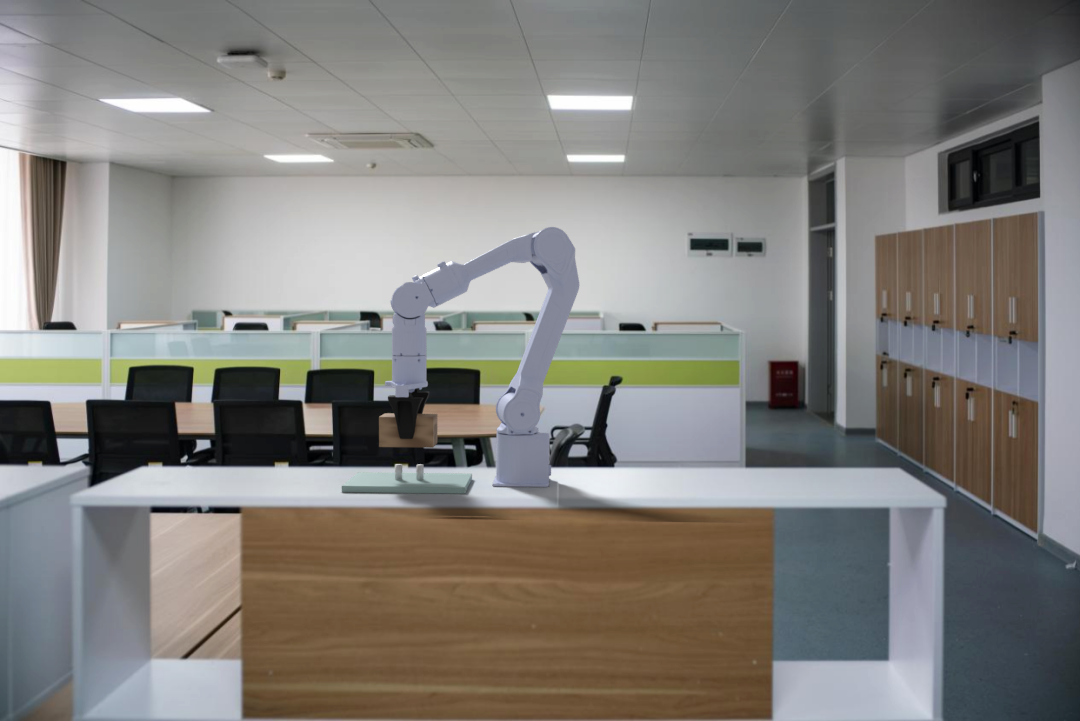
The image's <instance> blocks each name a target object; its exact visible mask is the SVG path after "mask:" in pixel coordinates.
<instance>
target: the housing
mask: <svg viewBox="0 0 1080 721" xmlns="http://www.w3.org/2000/svg"><path fill="white" fill-rule="evenodd" d="M437 444H438V413H422V414H417V418H416V426H415V432H414V436H413V439H400V437H399V433H398V428H397V423H396V418H395V415H394V412H393V413H391V412H387V413H385V412H384V413H383V414H382V415H379V417H378V448H432V449H433V448H434V447H435V446H436V445H437Z"/></svg>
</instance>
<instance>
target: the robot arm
mask: <svg viewBox="0 0 1080 721" xmlns="http://www.w3.org/2000/svg"><path fill="white" fill-rule="evenodd" d="M510 263H517V264H526V263H530V264H531V265H532V266H533V267H534V268H535V269H536V270H537V271H538V272H539V273H540V275H541V277H542V280H544V282H545V284H546V287H547V292H546V295H545V297H544V300H543V302H542V306H541V307H540V310H539V312H538V316H537V319H536V322H535V323H534V326H533V328H532V332H531V334H530V337H529V339H528V342H527V344H526V347H525V349H524V352H523V355H522V358H521V360H520V363H519V366H518V369H517V372H516V373H515V375H514V376H513V378H512V379H511V381H510V383H509V385H508V387H507V389H506V391H505V392H504V393H502V394H501V395H500V397H499V398H497V401H496V405H495V413H496V416H497V418H498V420H499V421H500V422H501V423H500V424H499V426H498V427H497V428H496V442H495V444H496V446H495V447H496V450H495V453H496V457H495V460H496V461H495V462H496V463H495V464H496V466H495V467H496V470H495V472H496V473H495V474H496V475H495V476H494V478H493V482H492V484H491V485H492V487H503V488H504V487H511V488H513V487H515V488H517V487H518V488H519V487H521V488H523V487H525V488H530V487H531V488H549V487H550V476H552V464H550V433H549V432H539V427H537V425H538V424H539V422H540V418H541V407H540V406H541V405H540V404H541V402H542V398H543V395H544V394H543V393H544V382H545V379H546V377H547V374H548V371H549V369H550V366H551V364H552V361H553V359H554V356H555V354H556V350H557V348H558V345H559V343H560V340H561V337H562V335H563V332H564V329H565V326H566V324H567V321H568V319H569V317H570V314H571V311H572V309H573V307H574V304H575V301H576V298H577V295H578V293H579V290H580V280H579V278H580V277H579V274H578V268H577V261H576V248H575V246H574V244H573V242H572V240H571V239H570V238H569V235H568V234H567V232H566V231H564V230H563V229H561V228H559V227H556V226H548V227H545V228H543V229H541V230H538V231H536V232H535V231H534V232H531V233H528V234H524V235H520V236H518V237H514V238H512V239H510V240H508V241H505V242H503V243H501V244H500V245H498V246H496V247H494V248H492V249H490V250H488V251H486V252H485V253H482V254H481V255H478V256H477V257H475V258H473V259H470V260H469V261H467V262H465V263H463V264H461V263H459V262H456V261H452V260H451V261H449V262H446V261H444V260H443V261H441V262H439V263H437V265H436V266H437V267H436V268H435V269H432V270H430V271H428V272H426V273H424V274H423V275H420V276H418V274H417V275H416V274H415V275H414V276H412V277H411V279H412V282H411V281H406V282H403V283H402V285H400V286H399V287H397V288H395V290H394V291H393V293H392V296H391V300H390V305H391V306H390V307H391V309H392V311H393V312H394V313H393V315H392V325H393V326H392V328H391V366H392V367H391V380H385V381H384V386H385V387H386V386H387V387H391V388H394V389H395V395H387V401H388V403H389V405H390V407H391V409H392V412H393V413H394V415H395V418H396V423H397V428H398V433H399V437H400V439H413V436H414V432H415V426H416V418H417V414H424V413H423V412H424V409H425V406H426V404H427V400H428V399H429V397H430V391H427V390H425V391H424V390H422V389H423V388H427V387H428V385H429V383H428V380H427V362H428V361H427V327H426V314H425V313H426V311H427V310H428V307H430V308H433V309H435V308H436V307H439V306H441V305H443V304H445V303H446V302H448V301H451V300H453V299H455V298H456V297H459V296H461V295H462V294H465V293H467V292H468V289H469V286H470V284H471V282H472V281H473V280H476V279H477V278H480V277H482V276H484V275H486V274H489V273H491V272H493V271H495V270H497V269H499V268H501V267H503V266H506V265H508V264H510Z"/></svg>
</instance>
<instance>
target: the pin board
mask: <svg viewBox="0 0 1080 721" xmlns="http://www.w3.org/2000/svg"><path fill="white" fill-rule="evenodd" d="M424 468H425V467H424V464H421V463H420V464H418V463H417V464H416V471H415V472H403V464H402V463H396V464H394V470H395V471H394V472H381V471H380V472H377V471H376V472H374V471H373V472H365V471H364V472H362V471H361V472H360V471H359V472H357V473H356V474H354V475H353V476H352V477H351V478H350V479H348V480H347V481H346V482H344V483H343V484H342V485H341V493H389V494H390V493H391V494H393V493H396V494H397V493H400V494H401V493H403V494H407V493H408V494H466V492H467V490H468V489H469V487H470V484H471V482H472V481H473V473H459V472H458V473H453V472H452V473H451V472H449V473H445V472H425V469H424Z"/></svg>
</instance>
